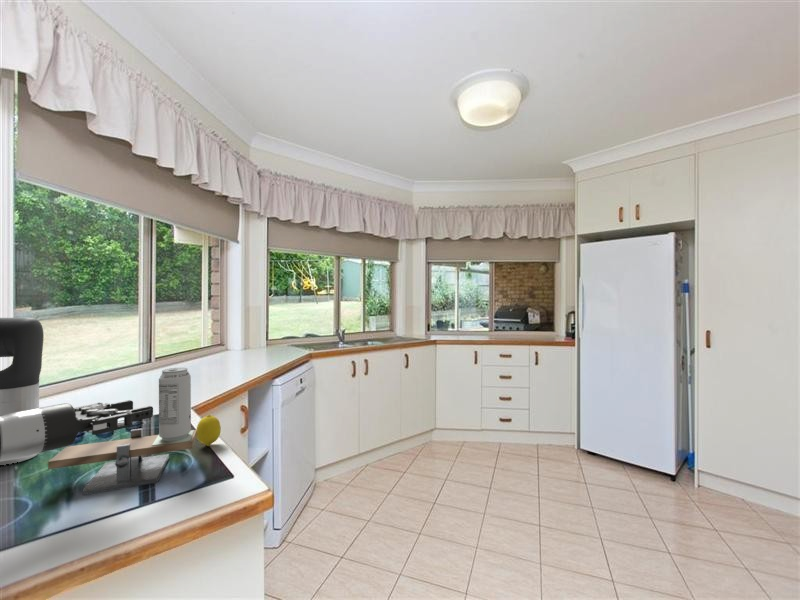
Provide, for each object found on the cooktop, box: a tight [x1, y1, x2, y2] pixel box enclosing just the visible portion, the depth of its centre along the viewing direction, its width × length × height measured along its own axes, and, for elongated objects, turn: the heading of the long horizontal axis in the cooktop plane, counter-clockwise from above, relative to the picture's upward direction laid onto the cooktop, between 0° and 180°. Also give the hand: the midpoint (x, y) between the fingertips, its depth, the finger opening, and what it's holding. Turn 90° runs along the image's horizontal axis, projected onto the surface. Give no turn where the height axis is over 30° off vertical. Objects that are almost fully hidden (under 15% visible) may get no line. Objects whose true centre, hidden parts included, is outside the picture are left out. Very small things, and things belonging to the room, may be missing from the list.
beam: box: [47, 429, 197, 470], centre depth 78 cm, size 24×8×2 cm, turn 113°
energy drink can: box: [158, 367, 192, 441], centre depth 81 cm, size 6×6×15 cm
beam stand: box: [82, 427, 170, 496], centre depth 78 cm, size 12×13×8 cm
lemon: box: [195, 414, 222, 447], centre depth 94 cm, size 6×6×8 cm
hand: (141, 408), depth 76 cm, fingers open, 8 cm apart
